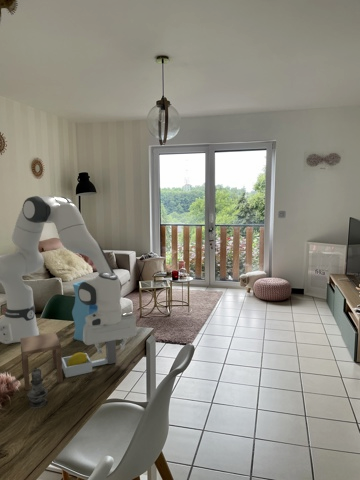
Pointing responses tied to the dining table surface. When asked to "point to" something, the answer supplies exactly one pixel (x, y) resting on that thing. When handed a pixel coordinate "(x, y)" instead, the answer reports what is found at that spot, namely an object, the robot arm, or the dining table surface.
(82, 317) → the blue angular vessel
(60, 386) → the dining table surface
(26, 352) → the tunnel
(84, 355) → the lemon
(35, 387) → the gray stone ornament
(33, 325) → the robot arm
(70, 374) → the slider
